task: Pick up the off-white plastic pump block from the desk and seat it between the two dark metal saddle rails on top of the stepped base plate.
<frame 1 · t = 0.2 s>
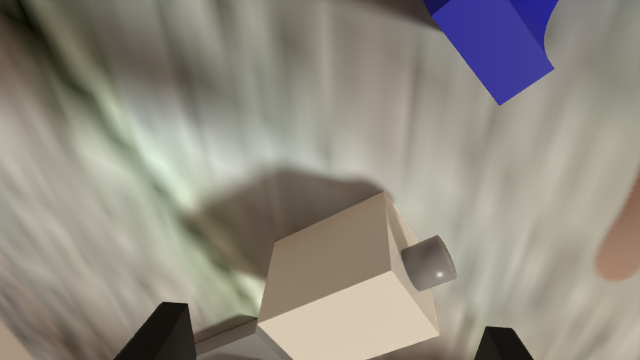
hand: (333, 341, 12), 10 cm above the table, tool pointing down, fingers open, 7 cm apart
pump: (348, 245, 23), on the table
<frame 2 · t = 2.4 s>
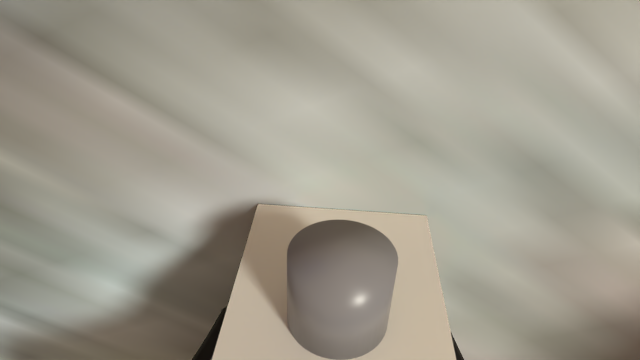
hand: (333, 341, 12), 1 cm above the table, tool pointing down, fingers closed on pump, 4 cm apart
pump: (334, 297, 13), on the table, touching gripper
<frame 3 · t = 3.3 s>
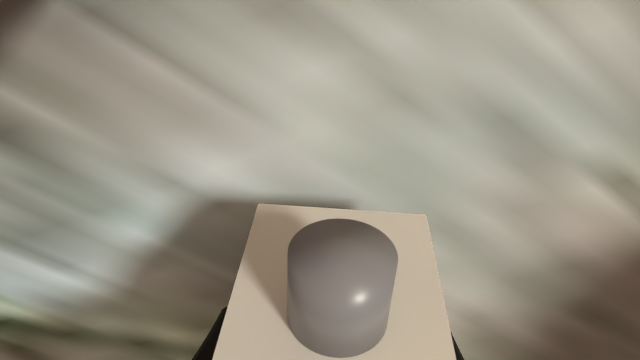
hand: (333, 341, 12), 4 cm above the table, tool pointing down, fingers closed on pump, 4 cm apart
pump: (334, 296, 13), point 2 cm above the table, touching gripper
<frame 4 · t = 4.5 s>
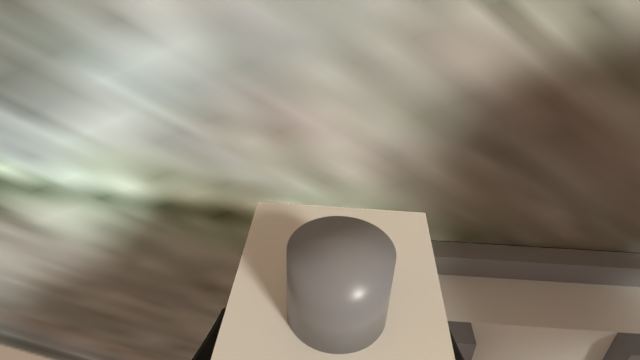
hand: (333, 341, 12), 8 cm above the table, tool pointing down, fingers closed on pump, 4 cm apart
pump: (334, 295, 13), point 7 cm above the table, touching gripper
stepped base plate: (491, 337, 23), on the table
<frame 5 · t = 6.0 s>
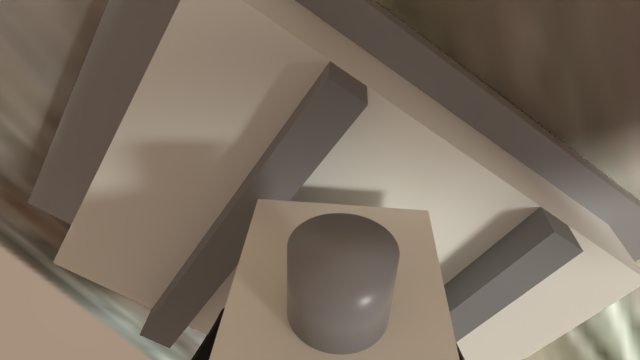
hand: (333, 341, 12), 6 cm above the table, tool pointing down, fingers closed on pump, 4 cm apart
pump: (335, 294, 13), point 4 cm above the table, touching gripper, stepped base plate
stepped base plate: (341, 200, 16), on the table
when the fingers open (5 cm above the table, at t = 6.9 s): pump stays where it is, resting on stepped base plate.
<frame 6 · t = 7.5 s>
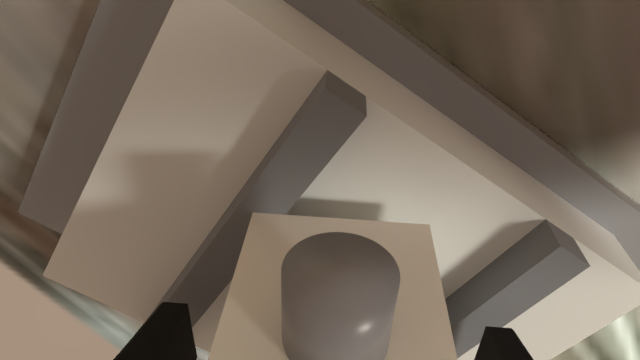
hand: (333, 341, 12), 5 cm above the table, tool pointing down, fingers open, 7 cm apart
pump: (333, 309, 12), point 4 cm above the table, touching stepped base plate
stepped base plate: (339, 210, 16), on the table
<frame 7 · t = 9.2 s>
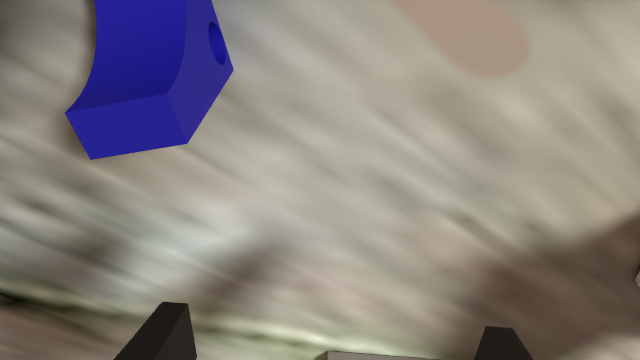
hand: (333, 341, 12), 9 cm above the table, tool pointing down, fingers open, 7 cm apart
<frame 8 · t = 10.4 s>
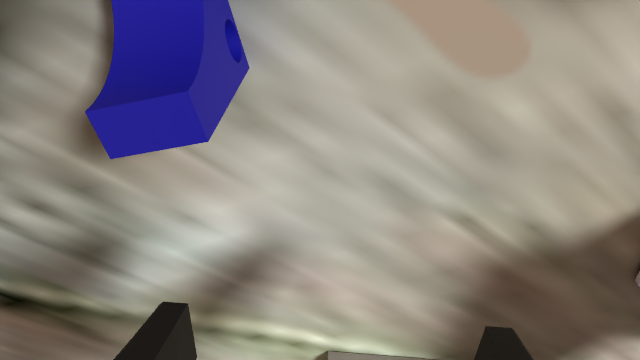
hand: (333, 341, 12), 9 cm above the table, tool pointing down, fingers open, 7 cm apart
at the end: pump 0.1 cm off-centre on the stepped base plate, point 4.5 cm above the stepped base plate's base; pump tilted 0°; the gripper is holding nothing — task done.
